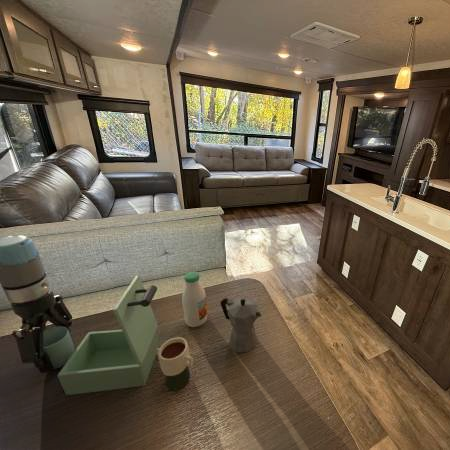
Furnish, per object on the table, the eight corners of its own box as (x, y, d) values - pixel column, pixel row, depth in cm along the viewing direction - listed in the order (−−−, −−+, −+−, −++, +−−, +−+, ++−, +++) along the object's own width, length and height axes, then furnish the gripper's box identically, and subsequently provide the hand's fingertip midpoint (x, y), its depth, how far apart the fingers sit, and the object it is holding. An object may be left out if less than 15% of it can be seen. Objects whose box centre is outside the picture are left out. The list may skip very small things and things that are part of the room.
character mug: (202, 374, 73) (199, 342, 68) (187, 398, 66) (182, 365, 61) (170, 364, 75) (164, 332, 69) (152, 387, 68) (144, 354, 63)
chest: (66, 395, 64) (57, 375, 61) (94, 350, 76) (88, 332, 73) (144, 385, 68) (140, 366, 65) (160, 344, 80) (156, 326, 77)
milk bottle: (192, 331, 86) (187, 285, 78) (180, 320, 90) (174, 275, 82) (211, 319, 92) (208, 274, 84) (199, 309, 96) (195, 266, 88)
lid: (112, 309, 57) (140, 305, 58) (136, 275, 69) (159, 272, 70) (138, 365, 65) (162, 361, 66) (155, 325, 77) (175, 322, 78)
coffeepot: (266, 338, 86) (268, 298, 79) (251, 360, 78) (252, 317, 71) (230, 322, 91) (229, 283, 84) (213, 341, 83) (210, 299, 76)
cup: (38, 363, 71) (25, 338, 67) (72, 345, 77) (63, 321, 73) (46, 379, 67) (33, 354, 63) (81, 359, 73) (72, 335, 69)
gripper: (14, 324, 54) (47, 391, 63) (74, 270, 73) (93, 327, 82) (-29, 327, 52) (12, 395, 61) (43, 271, 71) (66, 329, 80)
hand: (58, 356), depth 72 cm, fingers closed on cup, 8 cm apart
